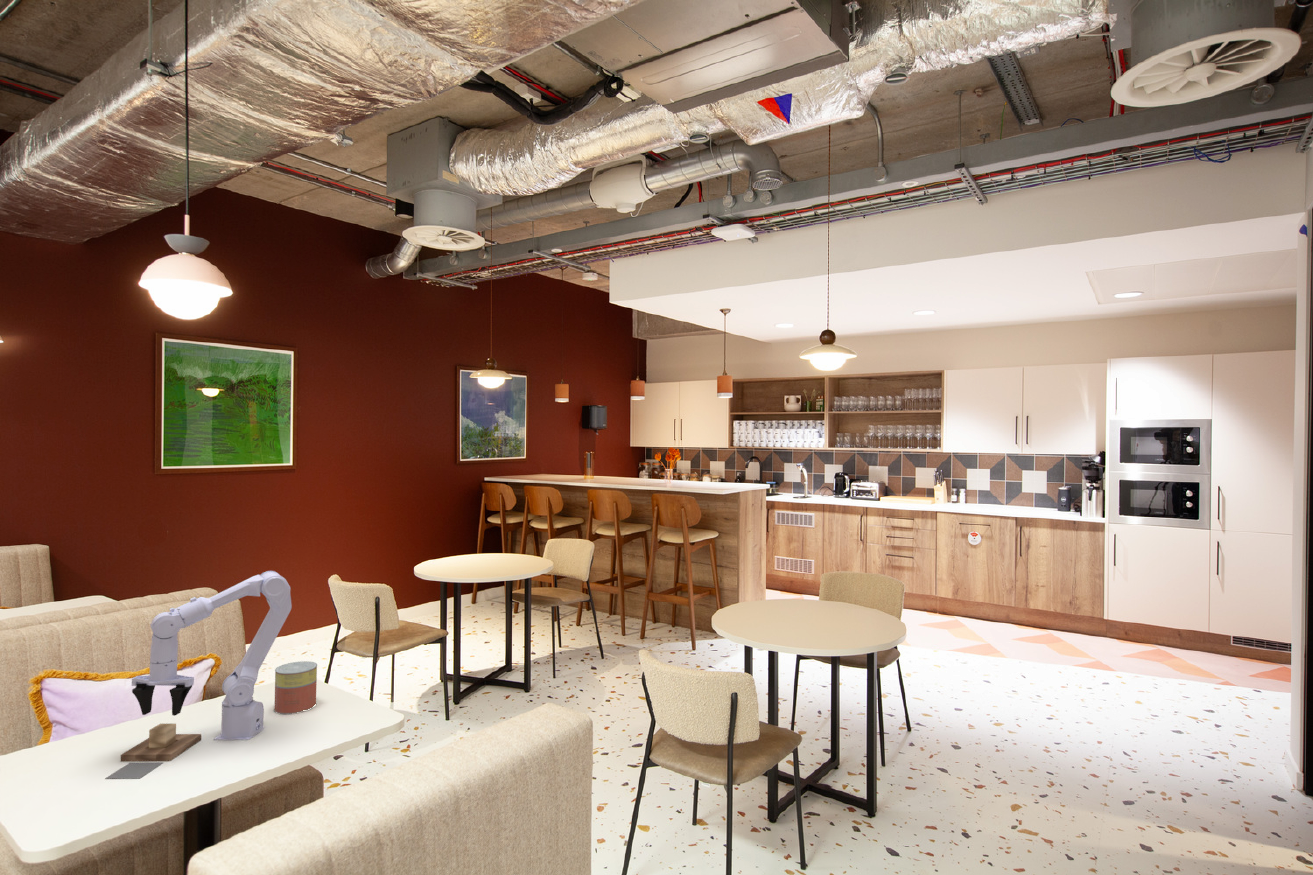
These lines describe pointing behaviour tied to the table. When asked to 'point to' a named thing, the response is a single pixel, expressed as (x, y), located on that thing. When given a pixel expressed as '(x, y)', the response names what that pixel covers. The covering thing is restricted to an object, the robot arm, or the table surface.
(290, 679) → the canned food
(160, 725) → the birch peg
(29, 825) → the table surface
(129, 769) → the rubber mat
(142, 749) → the pocket block
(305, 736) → the table surface
